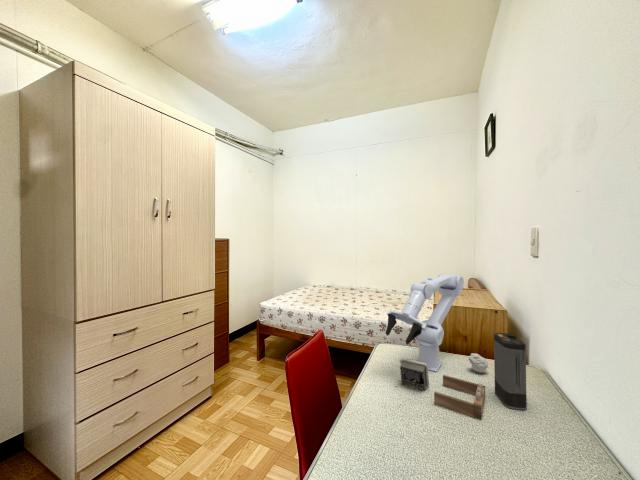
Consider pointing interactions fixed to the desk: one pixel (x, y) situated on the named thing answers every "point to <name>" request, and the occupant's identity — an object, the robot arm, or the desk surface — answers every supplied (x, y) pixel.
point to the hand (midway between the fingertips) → (396, 338)
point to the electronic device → (510, 370)
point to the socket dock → (458, 404)
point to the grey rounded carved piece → (478, 363)
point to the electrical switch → (414, 374)
